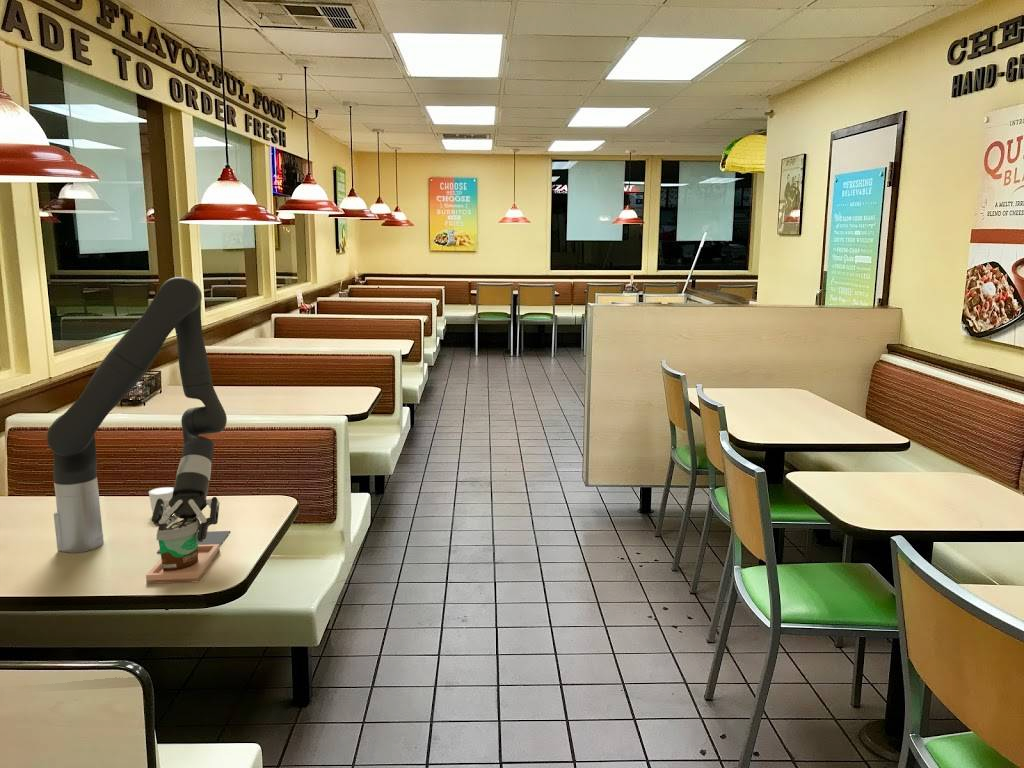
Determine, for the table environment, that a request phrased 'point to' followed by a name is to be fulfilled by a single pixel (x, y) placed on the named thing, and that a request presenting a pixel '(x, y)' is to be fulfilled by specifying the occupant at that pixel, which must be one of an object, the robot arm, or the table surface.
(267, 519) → the table surface
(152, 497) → the white cup
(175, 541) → the food container
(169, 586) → the table surface
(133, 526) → the table surface
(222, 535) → the mat
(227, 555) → the table surface
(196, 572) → the dish
